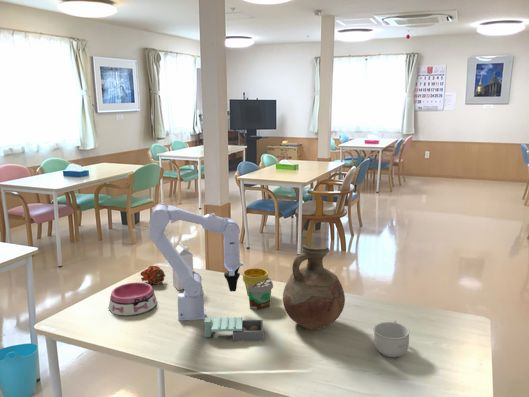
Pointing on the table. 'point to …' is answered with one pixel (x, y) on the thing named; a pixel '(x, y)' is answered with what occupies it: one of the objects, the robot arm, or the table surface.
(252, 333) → the tub
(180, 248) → the milk carton
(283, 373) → the table surface
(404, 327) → the teacup
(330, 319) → the jug
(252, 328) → the walnut ball
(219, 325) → the teal ridged block
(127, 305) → the dog bowl
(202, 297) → the robot arm
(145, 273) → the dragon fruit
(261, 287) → the food container
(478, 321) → the table surface
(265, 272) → the plant pot
